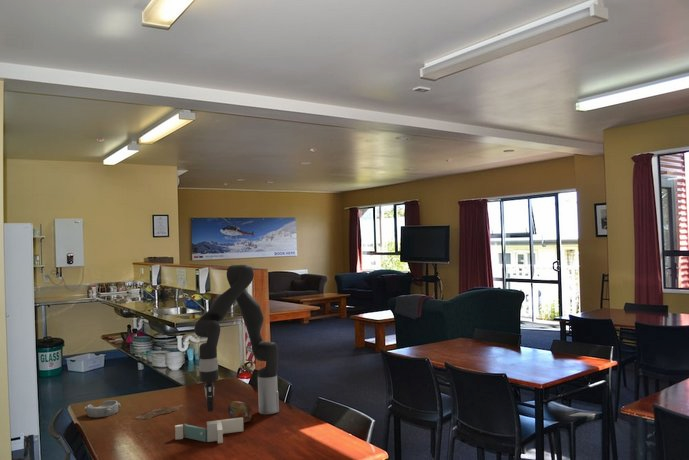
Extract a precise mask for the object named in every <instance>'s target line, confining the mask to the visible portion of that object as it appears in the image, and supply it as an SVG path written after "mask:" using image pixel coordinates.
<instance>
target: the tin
mask: <svg viewBox="0 0 689 460" xmlns="http://www.w3.org/2000/svg"><path fill="white" fill-rule="evenodd" d="M227 409H228V410H227V411H228V416H229V417H230V418H229V419H232V418H241V417H243V424H245V423H247V422H250V421H251V420H252V415H253V412H252V411H253V410H252V408H251V405H250V404H249V403H246V402H242V401H239V400H235V401H231V402H230V403H229V405H228V408H227Z"/></svg>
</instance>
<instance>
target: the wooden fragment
mask: <svg viewBox="0 0 689 460" xmlns="http://www.w3.org/2000/svg"><path fill="white" fill-rule="evenodd" d="M183 406H184V405H183V404H179V405H174V406H167V407H160V408H155V409H151V410H148V411H146V412H144V413H142V414H139V416H138V415H137V416H135V418H134V420H149V419H151V418H155V417H158V416H161V415H165V414H170V413H173V412H177V411H179V409H180V408H181V407H183Z"/></svg>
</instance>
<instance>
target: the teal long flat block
mask: <svg viewBox="0 0 689 460" xmlns="http://www.w3.org/2000/svg"><path fill="white" fill-rule="evenodd" d="M183 438H185V439H190V440H194V441H195V440H196V441H199V442H204V443H206V442H207V427H202V426H201V427H200V426H196V425H190V424H187V423H183Z"/></svg>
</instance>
